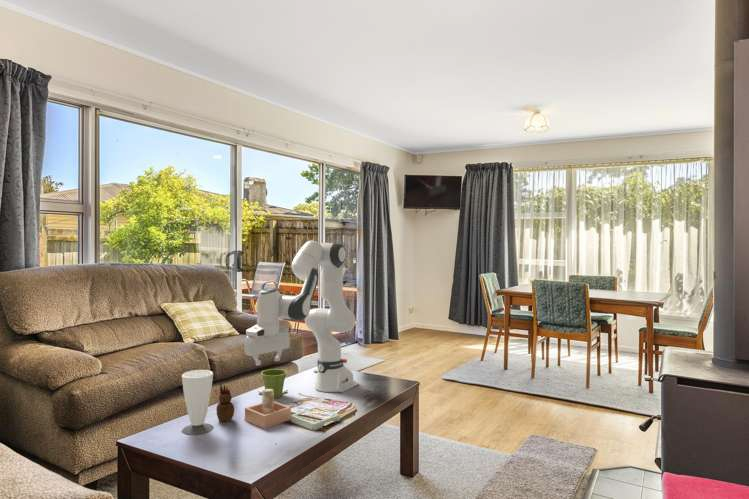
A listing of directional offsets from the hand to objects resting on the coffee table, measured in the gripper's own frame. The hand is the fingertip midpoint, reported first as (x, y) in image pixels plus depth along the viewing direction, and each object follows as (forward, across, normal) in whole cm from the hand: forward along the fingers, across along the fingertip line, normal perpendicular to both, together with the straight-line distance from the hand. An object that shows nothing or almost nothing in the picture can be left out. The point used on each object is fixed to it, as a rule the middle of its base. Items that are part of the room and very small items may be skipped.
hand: (267, 363), depth 201 cm
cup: (+24, +24, -12) cm, 36 cm away
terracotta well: (+23, 0, 0) cm, 23 cm away
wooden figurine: (+24, +12, -12) cm, 29 cm away
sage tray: (+23, -12, +15) cm, 30 cm away
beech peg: (+23, 0, 0) cm, 23 cm away
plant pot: (+23, -20, -22) cm, 38 cm away
